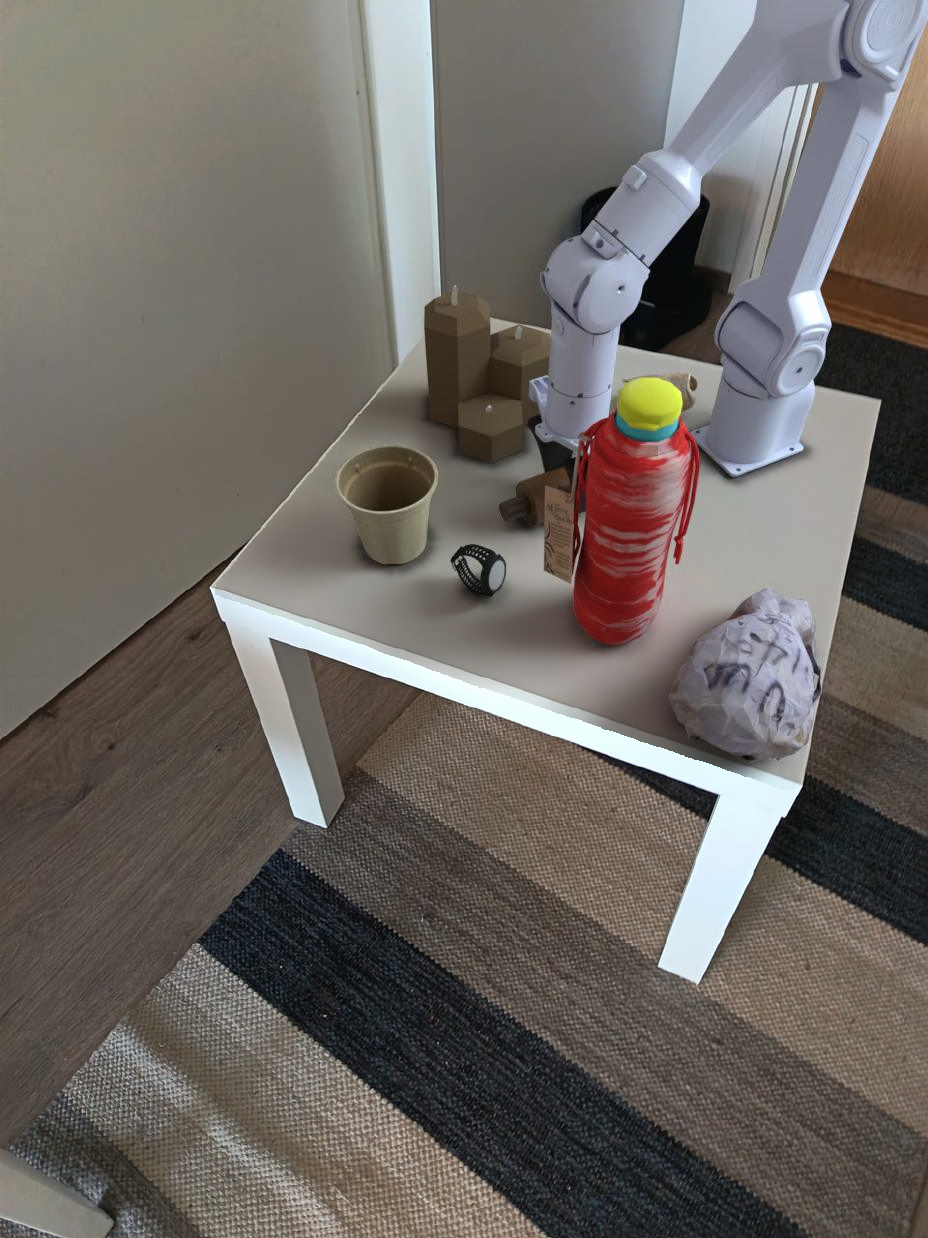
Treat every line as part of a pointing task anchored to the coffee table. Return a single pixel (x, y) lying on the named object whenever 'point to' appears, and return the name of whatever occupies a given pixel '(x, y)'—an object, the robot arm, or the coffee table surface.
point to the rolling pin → (533, 496)
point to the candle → (481, 374)
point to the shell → (678, 386)
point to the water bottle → (624, 511)
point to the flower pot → (389, 499)
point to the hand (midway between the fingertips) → (569, 492)
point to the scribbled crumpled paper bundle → (752, 680)
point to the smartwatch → (490, 573)
